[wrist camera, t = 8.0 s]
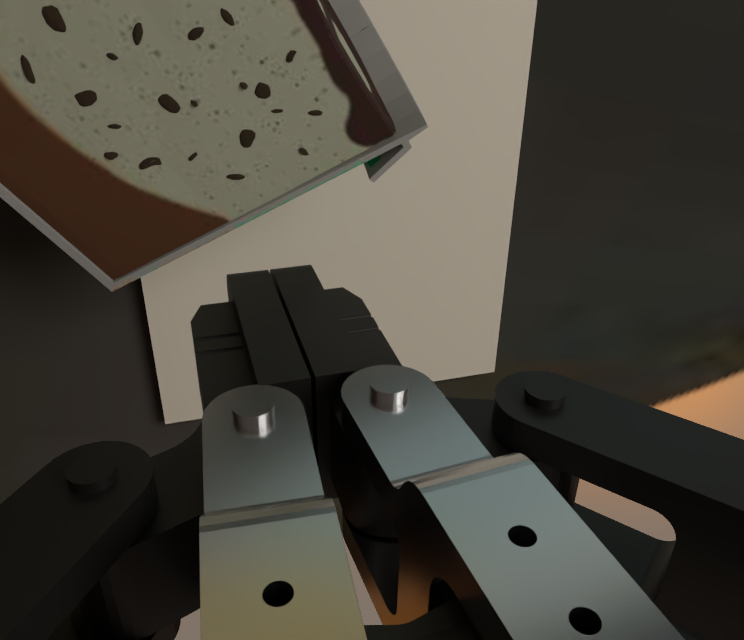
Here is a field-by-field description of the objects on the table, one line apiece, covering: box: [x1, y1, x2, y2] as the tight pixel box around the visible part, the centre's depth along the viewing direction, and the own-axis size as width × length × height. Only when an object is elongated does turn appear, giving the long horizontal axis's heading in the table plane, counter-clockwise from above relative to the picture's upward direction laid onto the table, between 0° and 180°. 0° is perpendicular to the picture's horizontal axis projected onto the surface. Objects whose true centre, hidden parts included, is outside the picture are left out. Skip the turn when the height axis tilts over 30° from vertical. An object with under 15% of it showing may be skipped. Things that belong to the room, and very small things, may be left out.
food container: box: [0, 0, 428, 292], centre depth 19 cm, size 12×6×10 cm
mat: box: [141, 0, 537, 424], centre depth 24 cm, size 14×22×1 cm, turn 0°
